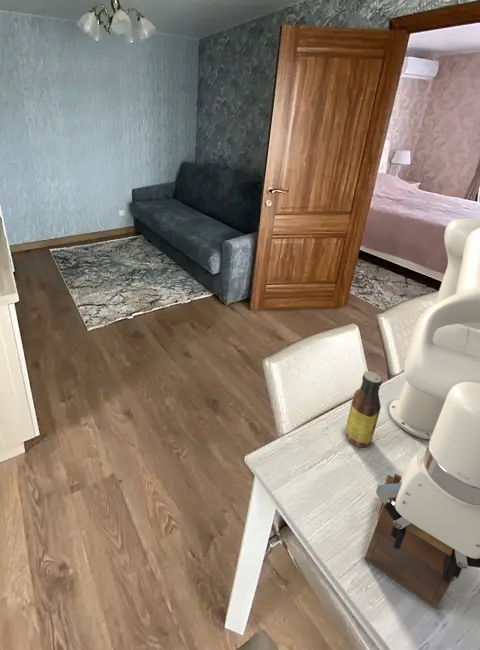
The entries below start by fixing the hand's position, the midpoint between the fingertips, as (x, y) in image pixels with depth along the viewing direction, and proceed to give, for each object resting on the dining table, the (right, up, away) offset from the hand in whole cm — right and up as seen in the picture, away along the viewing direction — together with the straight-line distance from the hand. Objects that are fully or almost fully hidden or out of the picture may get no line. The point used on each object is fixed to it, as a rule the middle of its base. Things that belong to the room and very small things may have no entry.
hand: (421, 555), depth 52 cm
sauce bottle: (+10, -4, +38) cm, 40 cm away
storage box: (+7, -13, +15) cm, 21 cm away
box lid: (+4, +1, +5) cm, 6 cm away
